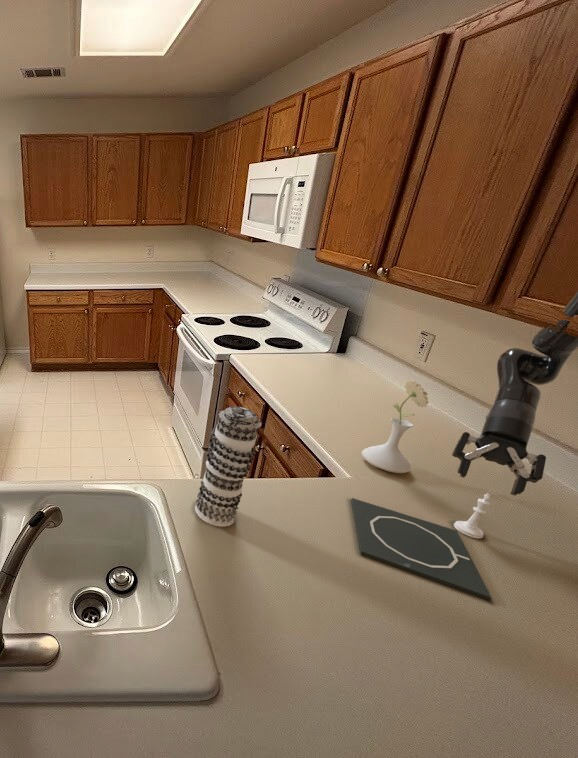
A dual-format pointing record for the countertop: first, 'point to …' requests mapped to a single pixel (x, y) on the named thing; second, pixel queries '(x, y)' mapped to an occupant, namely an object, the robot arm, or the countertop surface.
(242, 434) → the decorative candle
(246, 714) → the countertop surface
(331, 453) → the countertop surface
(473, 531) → the chess piece
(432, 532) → the slate board
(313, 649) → the countertop surface
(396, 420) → the flower in vase
